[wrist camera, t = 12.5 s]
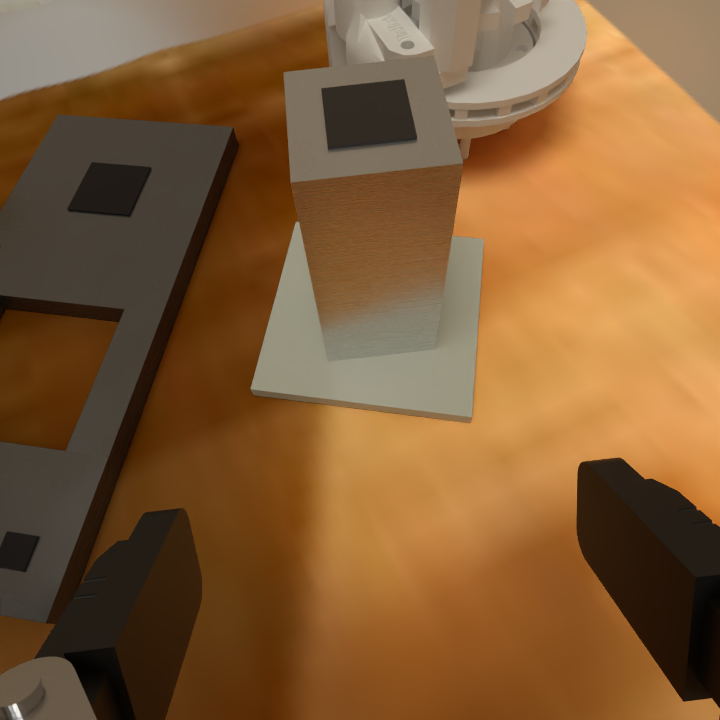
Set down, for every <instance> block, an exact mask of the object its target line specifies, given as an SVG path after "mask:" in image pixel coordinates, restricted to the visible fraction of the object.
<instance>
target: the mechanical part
mask: <svg viewBox="0 0 720 720" xmlns="http://www.w3.org/2000/svg"><path fill="white" fill-rule="evenodd" d="M324 17H325V27H326V37H327V47H328V56H329V66H330V67H336V66H345V65H354V64H363V63H372V62H381V61H391V60H400V59H409V58H418V57H427V56H434V57H435V60H436V64H437V68H438V71H439V75H440V79H441V82H442V86H443V90H444V94H445V97H446V101H447V105H448V108H449V112H450V116H451V119H452V123H453V127H454V130H455V134H456V138H457V139H461V140H460V147H459V149H460V152H461V156H462V160H465V159H467V158H468V156H469V150H470V143H471V138H479V137H483V136H487V135H491V134H495V133H497V132H499V131H501V130H507V129H509V127H510V125H512V124H513V123H515V122H516V121H517V120H518V119H522V118H524V117H527V116H529V115H531V114H533V113H536V112H538V111H540V110H542V109H544V108H545V107H547V106H548V105H549V104H551V103H552V102H554V101H555V100H557V99H558V98H559V97H560V96H561V95H562V94H563V93H564V92H565V90H566V89H567V88H568V87H569V86H570V84H571V83H572V81H573V79H574V77H575V75H576V73H577V70H578V67H579V63H580V58H581V56H582V54H583V52H584V49H585V44H586V38H587V28H586V22H585V18H584V16H583V14H582V12H581V10H580V8H579V6H578V5H577V3H576V2H575V1H574V0H324Z"/></svg>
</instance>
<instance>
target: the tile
mask: <svg viewBox="0 0 720 720" xmlns="http://www.w3.org/2000/svg"><path fill="white" fill-rule="evenodd" d="M483 245H484V239H480V238H469V237H458V236H452V241H451V247H450V254H449V260H448V267H447V273H446V280H445V286H444V293H443V299H442V306H441V312H440V318H439V325H438V331H437V338H436V344H435V350H426V351H417V352H408V353H400V354H391V355H382V356H374V357H365V358H356V359H348V360H339V361H330V362H328V359H327V355H326V350H325V345H324V340H323V335H322V330H321V326H320V321H319V316H318V311H317V306H316V302H315V297H314V292H313V287H312V282H311V277H310V273H309V268H308V263H307V258H306V253H305V249H304V244H303V239H302V234H301V229H300V224H299V222H296V224H295V227H294V231H293V235H292V238H291V242H290V246H289V249H288V253H287V257H286V260H285V264H284V268H283V271H282V275H281V279H280V283H279V286H278V290H277V294H276V297H275V301H274V305H273V308H272V312H271V316H270V319H269V323H268V327H267V330H266V334H265V338H264V342H263V345H262V349H261V353H260V356H259V360H258V364H257V367H256V371H255V375H254V378H253V382H252V386H251V391H252V393H253V395H256V396H264V397H271V398H279V399H287V400H295V401H303V402H311V403H319V404H326V405H334V406H342V407H350V408H358V409H366V410H373V411H381V412H389V413H397V414H405V415H413V416H420V417H428V418H436V419H444V420H452V421H460V422H468V423H470V421H471V418H472V408H473V394H474V379H475V364H476V349H477V334H478V319H479V305H480V290H481V275H482V260H483Z"/></svg>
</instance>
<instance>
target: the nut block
mask: <svg viewBox="0 0 720 720" xmlns="http://www.w3.org/2000/svg"><path fill="white" fill-rule="evenodd" d="M284 85H285V100H286V116H287V131H288V147H289V162H290V178H291V186H292V191H293V195H294V200H295V205H296V210H297V215H298V220H299V224H300V229H301V234H302V239H303V244H304V249H305V253H306V258H307V263H308V268H309V273H310V277H311V282H312V287H313V292H314V297H315V302H316V306H317V311H318V316H319V321H320V326H321V330H322V335H323V340H324V345H325V350H326V355H327V359H328V362H330V361H339V360H348V359H356V358H365V357H374V356H382V355H391V354H400V353H408V352H417V351H426V350H435V344H436V338H437V331H438V325H439V318H440V312H441V306H442V299H443V293H444V286H445V280H446V273H447V267H448V260H449V254H450V247H451V241H452V234H453V228H454V221H455V215H456V208H457V202H458V195H459V189H460V182H461V176H462V169H463V160H462V156H461V152H460V149H459V145H458V141H457V138H456V134H455V130H454V127H453V123H452V119H451V116H450V112H449V108H448V105H447V101H446V97H445V94H444V90H443V86H442V82H441V79H440V75H439V71H438V68H437V64H436V60H435V57H434V56H427V57H418V58H409V59H400V60H391V61H381V62H372V63H363V64H354V65H345V66H336V67H327V68H318V69H309V70H299V71H290V72H284Z"/></svg>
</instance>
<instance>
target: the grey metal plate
mask: <svg viewBox="0 0 720 720" xmlns="http://www.w3.org/2000/svg"><path fill="white" fill-rule="evenodd" d="M237 148H238V142H237V139H236V136H235V132H234V129H233V127H223V126H209V125H195V124H181V123H168V122H154V121H140V120H126V119H112V118H98V117H84V116H70V115H57V117H56V119H55V120H54V122H53V124H52V126H51V127H50V129H49V131H48V132H47V134H46V136H45V137H44V139H43V141H42V142H41V144H40V146H39V147H38V149H37V151H36V152H35V154H34V156H33V157H32V159H31V161H30V162H29V164H28V166H27V167H26V169H25V171H24V172H23V174H22V176H21V177H20V179H19V181H18V183H17V184H16V186H15V188H14V189H13V191H12V193H11V194H10V196H9V198H8V199H7V201H6V203H5V204H4V206H3V208H2V209H1V211H0V317H1V315H2V313H3V311H4V310H5V309H14V310H22V311H31V312H40V313H48V314H57V315H66V316H74V317H83V318H92V319H100V320H109V321H118V322H119V324H118V326H117V329H116V331H115V334H114V336H113V338H112V341H111V343H110V346H109V348H108V350H107V353H106V355H105V358H104V360H103V362H102V365H101V367H100V370H99V372H98V374H97V377H96V379H95V382H94V384H93V386H92V389H91V391H90V394H89V396H88V398H87V401H86V403H85V406H84V408H83V410H82V413H81V415H80V418H79V420H78V422H77V425H76V427H75V430H74V432H73V434H72V437H71V439H70V442H69V444H68V446H67V449H66V451H62V450H55V449H48V448H41V447H34V446H27V445H20V444H13V443H6V442H0V615H4V616H9V617H15V618H20V619H26V620H31V621H37V622H42V623H50V624H56V623H57V622H58V620H59V618H60V617H61V615H62V614H63V612H64V610H65V609H66V607H67V606H68V604H69V602H70V601H72V600H73V599H74V597H73V596H74V595H75V593H76V591H77V589H78V586H79V583H80V580H81V578H82V575H83V572H84V569H85V567H86V564H87V561H88V558H89V556H90V553H91V550H92V547H93V545H94V542H95V539H96V536H97V534H98V531H99V528H100V525H101V523H102V520H103V517H104V514H105V512H106V509H107V506H108V503H109V501H110V498H111V495H112V492H113V490H114V487H115V484H116V481H117V479H118V476H119V473H120V470H121V468H122V465H123V462H124V459H125V457H126V454H127V451H128V448H129V446H130V443H131V440H132V437H133V434H134V432H135V429H136V426H137V423H138V421H139V418H140V415H141V412H142V410H143V407H144V404H145V401H146V399H147V396H148V393H149V390H150V388H151V385H152V382H153V379H154V377H155V374H156V371H157V368H158V366H159V363H160V360H161V357H162V355H163V352H164V349H165V346H166V344H167V341H168V338H169V335H170V333H171V330H172V327H173V324H174V322H175V319H176V316H177V313H178V311H179V308H180V305H181V302H182V300H183V297H184V294H185V291H186V289H187V286H188V283H189V280H190V278H191V275H192V272H193V269H194V267H195V264H196V261H197V258H198V255H199V253H200V250H201V247H202V244H203V242H204V239H205V236H206V233H207V231H208V228H209V225H210V222H211V220H212V217H213V214H214V211H215V209H216V206H217V203H218V200H219V198H220V195H221V192H222V189H223V187H224V184H225V181H226V178H227V176H228V173H229V170H230V167H231V165H232V162H233V159H234V156H235V154H236V151H237Z"/></svg>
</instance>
